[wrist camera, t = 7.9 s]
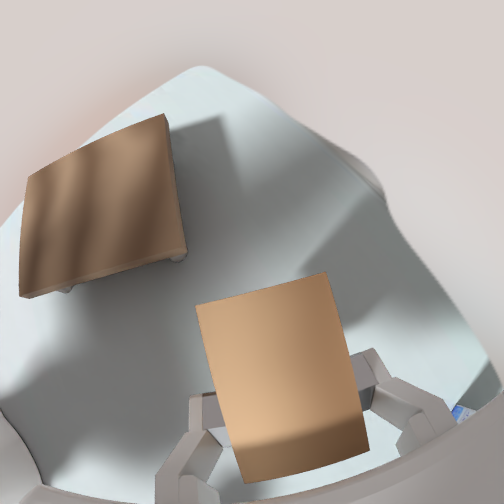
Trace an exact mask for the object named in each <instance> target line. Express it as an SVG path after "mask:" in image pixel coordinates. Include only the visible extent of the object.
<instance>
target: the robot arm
mask: <svg viewBox="0 0 504 504" xmlns="http://www.w3.org/2000/svg"><path fill="white" fill-rule="evenodd" d="M350 360H351V364H352V368H353V372H354V376H355V381H356V385H357V389H358V394H359V398H360V403H361V407H362V412H363V411H366V410H368V409H370V410H371V411H373V412H374V413H375V414H377V415H378V416H380V417H381V418H383V419H385V420H386V421H388V422H389V423H391V424H392V425H394V426H395V427H397V428H398V429H400V430H401V431H403V432H402V434H401V436H400V437H399V439H398V441H397V443H396V447H397V449H398V452H399V454H400V456H401V457H399V458H397V459H395V460H392V461H390V462H388V463H386V464H383V465H381V466H379V467H376V468H374V469H371V470H369V471H366V472H364V473H361V474H358V475H356V476H353V477H350V478H347V479H344V480H341V481H338V482H335V483H332V484H329V485H325V486H322V487H318V488H315V489H311V490H307V491H303V492H299V493H295V494H290V495H285V496H281V497H275V498H270V499H264V500H258V501H251V502H243V503H234V504H504V390H503V391H502V392H501V393H500V394H498V395H497V396H496V397H495V398H493V399H492V400H491V401H490V402H488V403H487V404H486V405H485V406H483V407H482V408H481V409H479V410H478V411H476V412H475V413H474V414H472V415H471V416H469V417H468V418H467V419H465V420H464V421H462V422H461V423H459V424H458V423H457V422H456V420H455V418H454V417H453V415H452V413H451V412H450V410H449V408H448V407H447V405H446V403H445V402H444V400H443V399H441V398H439V397H437V396H435V395H433V394H430V393H428V392H426V391H424V390H422V389H420V388H418V387H415V386H413V385H411V384H409V383H407V382H405V381H403V380H401V379H399V378H397V377H394V378H392V377H391V375H390V374H389V372H388V370H387V369H386V367H385V365H384V364H383V362H382V360H381V359H380V357H379V355H378V354H377V352H376V350H375V349H374V348H370V349H368V350H365V351H363V352H359V353H356V354H353V355H351V356H350ZM231 446H232V445H231V441H230V438H229V435H228V432H227V428H226V425H225V422H224V418H223V415H222V412H221V408H220V405H219V401H218V397H217V394H216V392H210V393H202V394H196V395H190V398H189V432H185V433H184V435H183V436H182V438H181V439H180V441H179V442H178V444H177V445H176V447H175V448H174V449H173V451H172V452H171V454H170V455H169V457H168V458H167V459H166V461H165V462H164V464H163V465H162V467H161V468H160V469H159V471H158V472H157V474H156V475H155V504H220V497H219V492H218V491H217V490H216V489H214V488H213V487H211V486H209V485H208V484H206V482H207V480H208V478H209V476H210V474H211V473H212V471H213V469H214V467H215V465H216V463H217V461H218V459H219V457H220V455H221V453H222V451H223V448H225V447H231ZM0 504H135V503H126V502H118V501H112V500H105V499H100V498H95V497H90V496H85V495H80V494H76V493H72V492H68V491H64V490H61V489H57V488H54V487H50V486H47V485H44V484H42V481H41V477H40V474H39V471H38V469H37V467H36V464H35V462H34V460H33V458H32V456H31V454H30V452H29V450H28V449H27V447H26V445H25V444H24V442H23V441H22V439H21V438H20V436H19V435H18V433H17V432H16V431H15V429H14V428H13V427H12V426H11V425H10V424H9V422H8V421H7V420H6V419H5V418H4V416H3V414H2V412H1V411H0Z"/></svg>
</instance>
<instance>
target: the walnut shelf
mask: <svg viewBox="0 0 504 504" xmlns="http://www.w3.org/2000/svg"><path fill="white" fill-rule="evenodd" d="M187 253H188V249H187V246H186V243H185V237H184V231H183V225H182V219H181V213H180V207H179V201H178V194H177V187H176V180H175V173H174V163H173V158H172V150H171V142H170V133H169V123H168V121H167V119H166V117H165V115H164V113H163V114H160V115H158V116H155V117H152V118H149V119H147V120H144V121H141V122H139V123H136V124H133V125H131V126H128V127H126V128H124V129H121V130H119V131H116V132H114V133H112V134H109V135H107V136H105V137H103V138H100V139H98V140H96V141H94V142H92V143H90V144H88V145H86V146H83V147H81V148H79V149H77V150H75V151H74V152H72V153H70V154H68V155H66V156H64V157H62V158H60V159H59V160H57V161H55V162H53V163H51V164H49V165H48V166H46V167H44V168H42V169H41V170H39V171H37V172H36V173H34V174H32V175H31V176H29V177H28V182H27V187H26V194H25V200H24V207H23V215H22V225H21V236H20V252H19V296H20V297H24V298H28V299H30V298H34V297H37V296H40V295H44V294H47V293H50V292H53V291H59V292H62V293H68V292H70V290H71V289H72V286H73V285H77V284H80V283H84V282H87V281H90V280H94V279H97V278H101V277H104V276H108V275H111V274H114V273H118V272H121V271H125V270H128V269H132V268H135V267H139V266H142V265H146V264H149V263H153V262H157V261H160V260H164V259H167V258H169V259H170V260H172V261H173V262H180V261H182V260H184V259H185V258H186V256H187Z"/></svg>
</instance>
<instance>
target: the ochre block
mask: <svg viewBox="0 0 504 504" xmlns="http://www.w3.org/2000/svg"><path fill="white" fill-rule="evenodd" d="M195 308H196V312H197V317H198V321H199V326H200V330H201V335H202V339H203V343H204V347H205V351H206V355H207V359H208V363H209V367H210V371H211V375H212V379H213V383H214V386H215V390H216V394H217V397H218V401H219V405H220V408H221V412H222V415H223V418H224V422H225V425H226V428H227V432H228V435H229V438H230V441H231V445H232V448H233V451H234V454H235V457H236V460H237V463H238V466H239V469H240V472H241V475H242V478H243V481H244V483H245V484H247V483H254V482H260V481H266V480H271V479H276V478H281V477H285V476H290V475H294V474H298V473H302V472H306V471H310V470H314V469H317V468H321V467H324V466H327V465H331V464H334V463H337V462H340V461H343V460H346V459H349V458H351V457H354V456H357V455H360V454H362V453H365V452H367V451H370V448H369V443H368V437H367V432H366V427H365V422H364V417H363V412H362V407H361V403H360V398H359V394H358V389H357V385H356V381H355V376H354V372H353V368H352V364H351V360H350V356H349V352H348V348H347V344H346V340H345V337H344V333H343V329H342V325H341V322H340V318H339V315H338V311H337V308H336V304H335V301H334V297H333V294H332V290H331V287H330V284H329V280H328V277H327V274H326V272H323V273H320V274H316V275H312V276H309V277H305V278H302V279H298V280H294V281H291V282H287V283H283V284H280V285H276V286H272V287H268V288H264V289H260V290H257V291H253V292H249V293H245V294H241V295H237V296H233V297H229V298H225V299H221V300H217V301H212V302H208V303H204V304H200V305H196V306H195Z"/></svg>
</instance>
